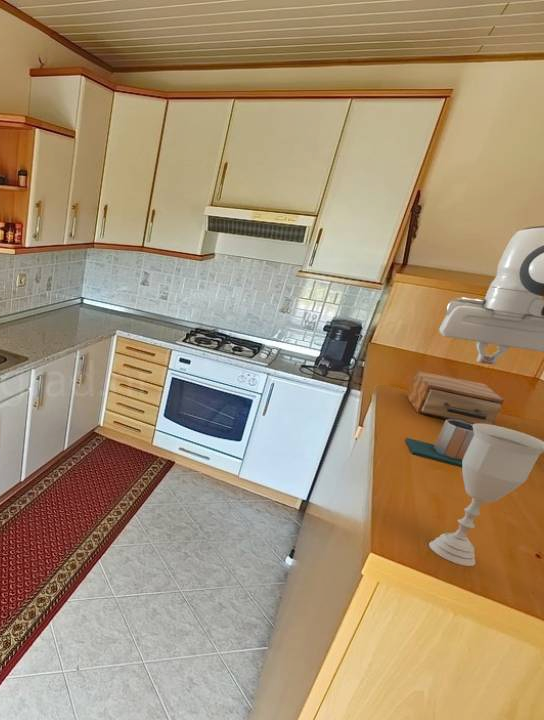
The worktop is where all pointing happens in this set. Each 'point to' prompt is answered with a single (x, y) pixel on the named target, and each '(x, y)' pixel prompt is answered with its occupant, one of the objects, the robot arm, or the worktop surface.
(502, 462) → the chalice
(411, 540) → the worktop surface
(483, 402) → the wooden drawer box
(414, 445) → the mat
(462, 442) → the gray faceted container
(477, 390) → the wooden drawer cabinet
